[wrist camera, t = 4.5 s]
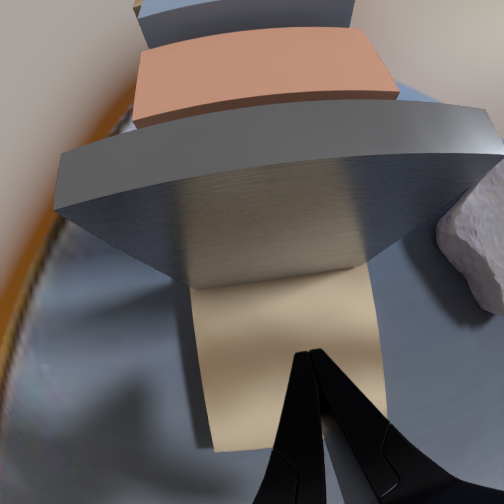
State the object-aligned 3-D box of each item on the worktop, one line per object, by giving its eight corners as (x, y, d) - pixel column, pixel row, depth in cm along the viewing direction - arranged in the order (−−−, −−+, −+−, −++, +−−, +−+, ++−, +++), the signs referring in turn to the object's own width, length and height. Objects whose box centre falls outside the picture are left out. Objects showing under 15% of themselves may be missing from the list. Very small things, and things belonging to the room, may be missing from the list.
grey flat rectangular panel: (360, 265, 16) (508, 155, 4) (197, 290, 16) (52, 210, 4) (356, 245, 16) (484, 109, 5) (195, 269, 16) (61, 153, 5)
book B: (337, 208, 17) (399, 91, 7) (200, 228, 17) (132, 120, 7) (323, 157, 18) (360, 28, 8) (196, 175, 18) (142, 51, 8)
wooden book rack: (380, 416, 15) (490, 493, 4) (218, 444, 15) (162, 564, 4) (315, 104, 20) (337, -23, 10) (183, 122, 21) (135, -1, 10)
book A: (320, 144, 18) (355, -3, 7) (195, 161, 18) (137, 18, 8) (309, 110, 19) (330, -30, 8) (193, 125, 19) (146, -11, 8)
